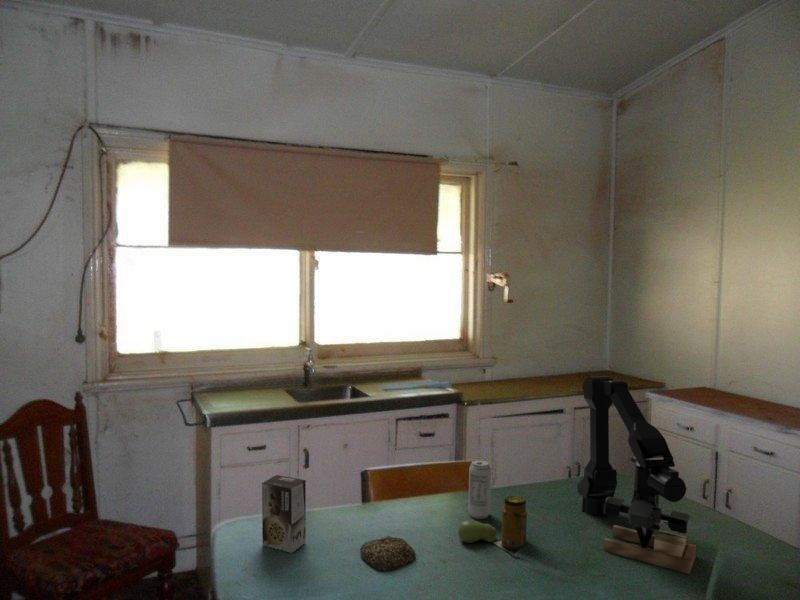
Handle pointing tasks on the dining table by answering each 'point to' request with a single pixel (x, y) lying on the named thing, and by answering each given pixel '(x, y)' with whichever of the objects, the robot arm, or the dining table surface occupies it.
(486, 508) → the energy drink can
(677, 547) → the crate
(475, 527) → the pear
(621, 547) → the bay
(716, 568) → the dining table surface
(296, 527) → the coffee box
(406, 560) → the bread roll
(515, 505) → the condiment
